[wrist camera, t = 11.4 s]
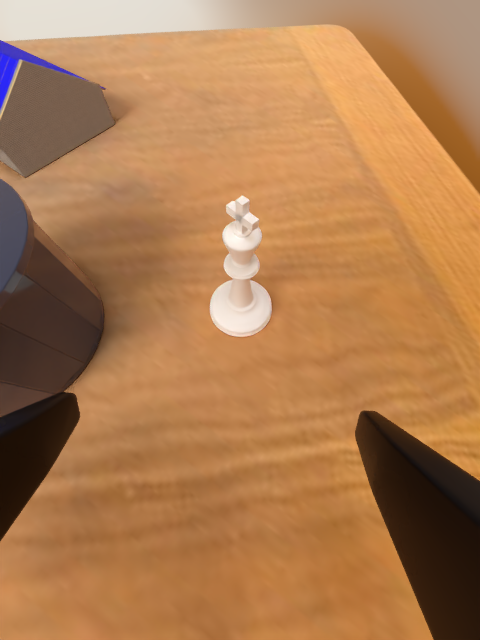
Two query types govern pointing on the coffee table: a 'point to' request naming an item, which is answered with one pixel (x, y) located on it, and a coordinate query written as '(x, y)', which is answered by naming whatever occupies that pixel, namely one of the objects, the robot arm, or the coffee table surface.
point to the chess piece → (241, 277)
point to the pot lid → (13, 240)
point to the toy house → (44, 110)
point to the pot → (47, 327)
